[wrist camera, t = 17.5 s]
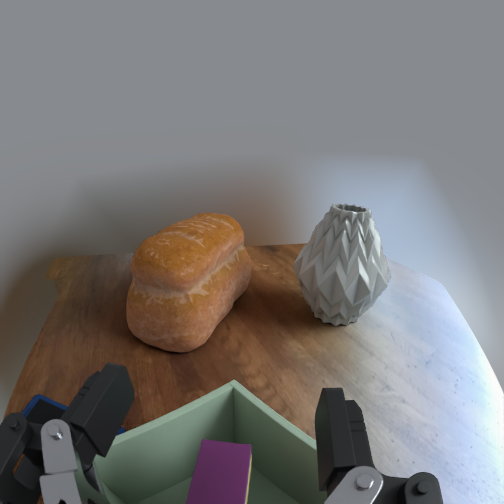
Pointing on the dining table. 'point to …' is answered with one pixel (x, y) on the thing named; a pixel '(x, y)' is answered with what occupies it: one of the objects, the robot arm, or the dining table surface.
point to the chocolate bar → (221, 474)
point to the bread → (187, 281)
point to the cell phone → (46, 411)
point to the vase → (342, 265)
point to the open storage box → (217, 429)
